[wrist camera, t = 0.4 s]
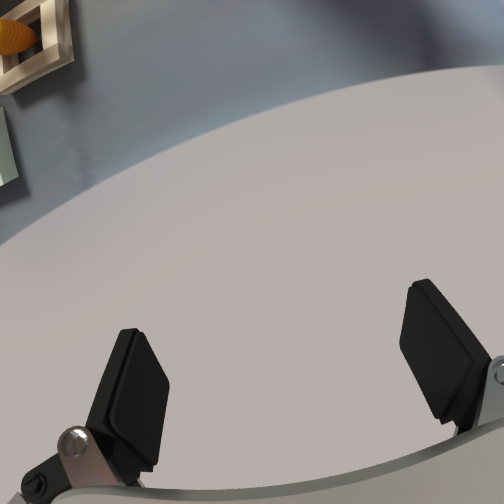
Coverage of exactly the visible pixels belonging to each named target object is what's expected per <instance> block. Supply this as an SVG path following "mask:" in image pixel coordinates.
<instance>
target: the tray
mask: <svg viewBox="0 0 504 504" xmlns="http://www.w3.org/2000/svg"><path fill="white" fill-rule="evenodd" d="M17 177H19V176H18V172H17V168H16V165H15V161H14V157H13V153H12V149H11V144H10V140H9V135H8V130H7V125H6V120H5V114H4V108H3V107H0V186H1V185H4V184H5V183H7V182H9V181H11V180H13V179H15V178H17Z"/></svg>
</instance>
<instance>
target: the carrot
mask: <svg viewBox="0 0 504 504" xmlns="http://www.w3.org/2000/svg"><path fill="white" fill-rule="evenodd" d="M37 41H38V40H37V37H36V34H35V33H34V31H33V30H32V29H31V28H29V27H28V26H26V25H24V24H22V23H19V22H16V21H12V20H8V19H2V18H0V55H10V54H15V53H19V52H23V51H25V50H27V49H29V48H30V47H32V46H34V45H35V44H36V43H37Z"/></svg>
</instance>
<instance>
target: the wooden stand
mask: <svg viewBox="0 0 504 504" xmlns="http://www.w3.org/2000/svg"><path fill="white" fill-rule="evenodd" d="M1 18H2V19H8V20H12V21H16V22H19V23H22V24H24V25H26V26H28V25H29V24H31V23H33V22H34V21H36V20H38V19H39V18H41V30H42V43H43V51H41V52H39V53H38V54H36V55H34V56H32V57H31V58H29V59H27V60H26V61H24V62H22V63H21V64H19V59H18V53H15V54H10V55H0V95H7V94H12V93H14V92H16V91H17V90H19V89H21V88H22V87H24V86H26V85H28V84H29V83H31V82H33V81H35V80H37V79H38V78H40V77H42V76H44V75H46V74H48V73H50V72H52V71H54V70H56V69H58V68H60V67H62V66H64V65H66V64H68V63H71V62H73V61H74V53H73V45H72V36H71V26H70V14H69V0H26V1H24V2H23V3H21V4H20V5H18V6H17V7H15V8H14V9H12V10H11V11H9V12H8V13H7V14H5V15H4V16H2V17H1Z"/></svg>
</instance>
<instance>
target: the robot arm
mask: <svg viewBox="0 0 504 504" xmlns="http://www.w3.org/2000/svg"><path fill="white" fill-rule="evenodd" d="M399 343H400V349H401V351H402V353H403V355H404V357H405V359H406V361H407V363H408V365H409V366H410V368H411V370H412V372H413V374H414V376H415V378H416V380H417V382H418V384H419V386H420V388H421V391H422V392H423V395H424V397H425V399H426V401H427V403H428V405H429V407H430V409H431V411H432V414H433V416H434V417H435V418H436V419H439V420H440V422H441V424H442V425H443V424H445V423H448V422H450V421H452V420H453V421H454V423H455V425H456V428H455V432H454V435H453V438H450V439H448V440H446V441H444V442H441V443H438V444H436V445H433V446H431V447H428V448H426V449H423V450H420V451H418V452H415V453H412V454H409V455H406V456H404V457H401V458H398V459H395V460H392V461H388V462H385V463H382V464H378V465H375V466H372V467H368V468H365V469H361V470H357V471H353V472H349V473H345V474H340V475H335V476H331V477H326V478H321V479H316V480H310V481H304V482H298V483H291V484H284V485H276V486H267V487H257V488H244V489H226V490H180V489H157V488H156V489H155V488H146V487H145V486H144V484H143V483H142V482H141V480H140V479H139V478H140V472H153V466H154V465H156V464H157V463H158V458H159V451H160V444H161V437H162V431H163V424H164V418H165V412H166V406H167V400H168V394H169V388H170V387H169V381H168V378H167V376H166V375H165V373H164V371H163V370H162V367H161V365H160V364H159V362H158V360H157V358H156V356H155V354H154V352H153V350H152V348H151V346H150V344H149V342H148V341H147V338H146V336H145V335H144V333H143V332H140V331H139V330H138V329H137V328H132V329H123V330H121V331H120V333H119V335H118V338H117V340H116V343H115V345H114V348H113V350H112V353H111V355H110V358H109V361H108V363H107V366H106V369H105V371H104V373H103V376H102V379H101V382H100V384H99V387H98V390H97V393H96V396H95V398H94V401H93V404H92V407H91V410H90V413H89V416H88V419H87V422H86V425H85V427H81V426H74V427H71V428H68V429H67V430H66V431H65V432H63V434H62V435H61V436H60V438H59V440H58V445H57V449H58V453H57V454H55V455H54V456H52V457H51V458H49V459H47V460H46V461H44V462H43V463H41V464H40V465H38V466H37V467H35V468H33V469H32V470H30V471H29V472H28V473H26V474H25V476H24V477H23V479H22V483H21V491H22V493H21V494H20V493H19V492H17V493H16V494H15V495H14V497H13V498H12V499H11V500H10V501H9V503H8V504H504V356H498V357H496V358H494V359H493V360H492V359H491V358H490V356H489V354H488V353H487V352H486V350H485V349H484V347H483V346H482V345H481V343H480V342H479V341H478V339H477V338H476V337H475V335H474V334H473V332H472V331H471V330H470V328H469V327H468V326H467V325H466V323H465V322H464V321H463V320H462V318H461V317H460V316H459V314H458V313H457V312H456V311H455V309H454V308H453V307H452V306H451V304H450V303H449V302H448V301H447V300H446V298H445V297H444V296H443V295H442V293H441V292H440V291H439V290H438V289H437V287H436V286H435V285H434V284H433V283H432V282H431V280H429V279H423V280H419V281H415V282H414V283H413V284H412V286H411V287H409V289H408V294H407V301H406V307H405V314H404V319H403V325H402V330H401V336H400V341H399Z"/></svg>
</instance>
